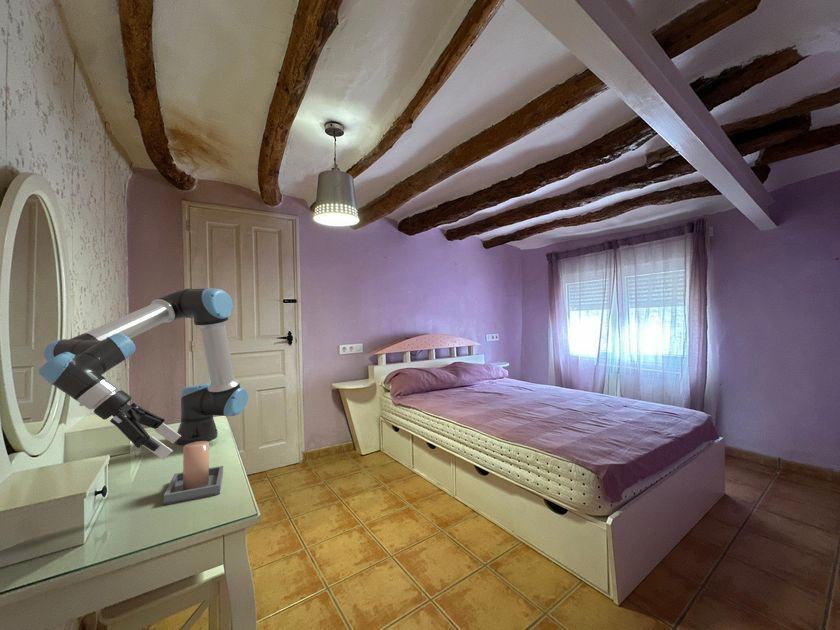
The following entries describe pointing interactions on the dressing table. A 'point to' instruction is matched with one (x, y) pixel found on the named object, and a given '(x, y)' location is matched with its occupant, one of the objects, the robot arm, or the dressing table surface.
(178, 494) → the tray
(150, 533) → the dressing table surface
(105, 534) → the dressing table surface
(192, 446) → the peach domed cylinder
